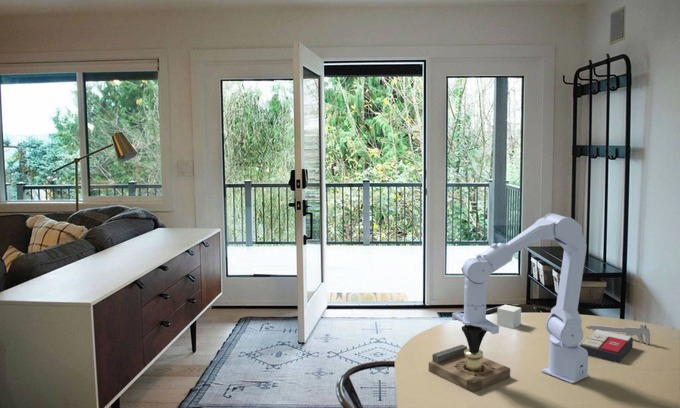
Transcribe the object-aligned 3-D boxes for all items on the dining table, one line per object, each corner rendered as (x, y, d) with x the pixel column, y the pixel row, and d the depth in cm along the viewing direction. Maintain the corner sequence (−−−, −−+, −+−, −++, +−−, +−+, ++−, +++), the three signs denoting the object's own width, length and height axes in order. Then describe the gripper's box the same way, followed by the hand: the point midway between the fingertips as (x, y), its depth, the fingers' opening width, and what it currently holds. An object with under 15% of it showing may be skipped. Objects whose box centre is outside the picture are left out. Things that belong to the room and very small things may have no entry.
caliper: (649, 345, 167) (650, 326, 166) (648, 346, 166) (649, 326, 165) (587, 327, 183) (588, 309, 182) (585, 328, 182) (586, 310, 182)
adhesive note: (513, 328, 182) (513, 311, 182) (496, 325, 186) (497, 308, 186) (520, 324, 187) (521, 307, 186) (504, 320, 191) (505, 304, 190)
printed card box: (579, 342, 160) (595, 327, 171) (579, 356, 161) (595, 339, 172) (619, 352, 153) (633, 335, 164) (618, 366, 153) (632, 348, 164)
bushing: (486, 377, 145) (486, 352, 144) (474, 382, 142) (474, 356, 141) (472, 371, 149) (472, 346, 148) (460, 376, 146) (460, 351, 145)
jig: (510, 377, 145) (510, 361, 144) (472, 392, 136) (472, 375, 136) (465, 358, 158) (465, 343, 157) (428, 370, 149) (428, 355, 149)
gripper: (444, 299, 147) (444, 347, 148) (486, 313, 135) (485, 364, 136) (462, 295, 151) (461, 341, 152) (504, 307, 139) (503, 357, 140)
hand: (474, 351), depth 145 cm, fingers closed, pressing on bushing
